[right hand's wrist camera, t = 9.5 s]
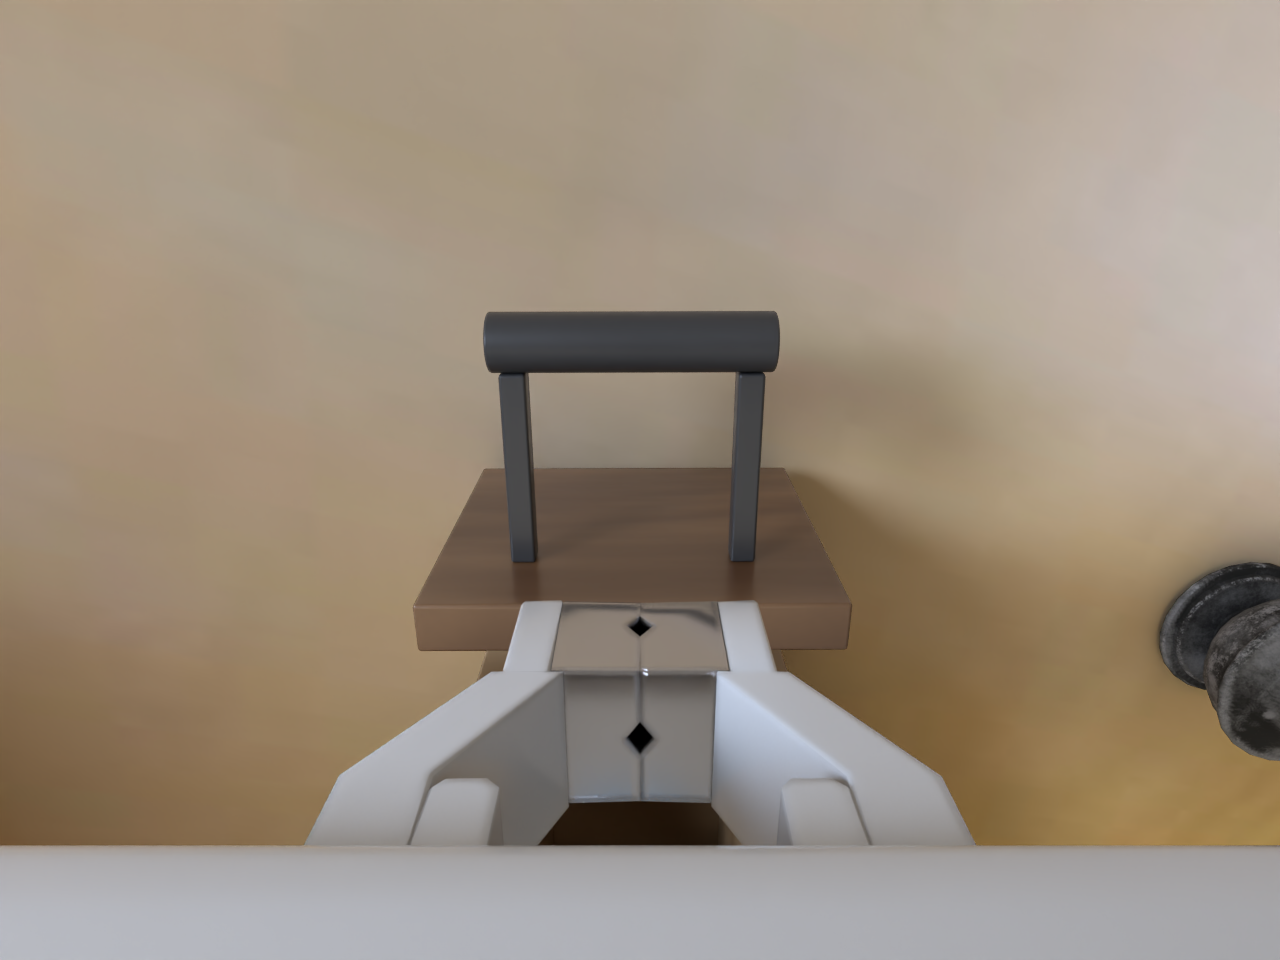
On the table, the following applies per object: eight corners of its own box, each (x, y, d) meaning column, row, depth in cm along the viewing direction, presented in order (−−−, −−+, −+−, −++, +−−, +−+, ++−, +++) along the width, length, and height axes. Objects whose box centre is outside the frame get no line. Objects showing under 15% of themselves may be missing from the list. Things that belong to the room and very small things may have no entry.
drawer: (468, 276, 23) (377, 332, 15) (797, 276, 23) (883, 330, 15) (519, 905, 32) (479, 1149, 24) (753, 904, 32) (792, 1147, 24)
